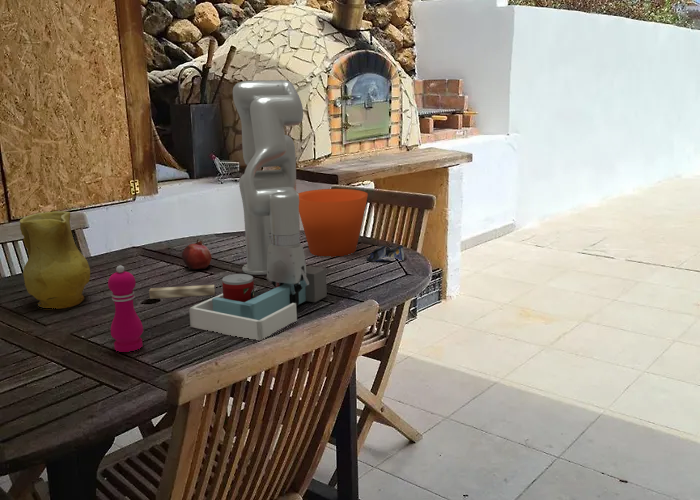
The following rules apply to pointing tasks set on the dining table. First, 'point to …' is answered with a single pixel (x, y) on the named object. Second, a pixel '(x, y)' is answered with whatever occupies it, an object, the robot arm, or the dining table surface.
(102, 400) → the dining table surface
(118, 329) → the pepper mill
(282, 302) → the teal gray angled bar
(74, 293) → the pitcher
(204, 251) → the fruit
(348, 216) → the flowerpot
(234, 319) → the bay
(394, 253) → the snack package
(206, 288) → the stick
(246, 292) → the canned food
